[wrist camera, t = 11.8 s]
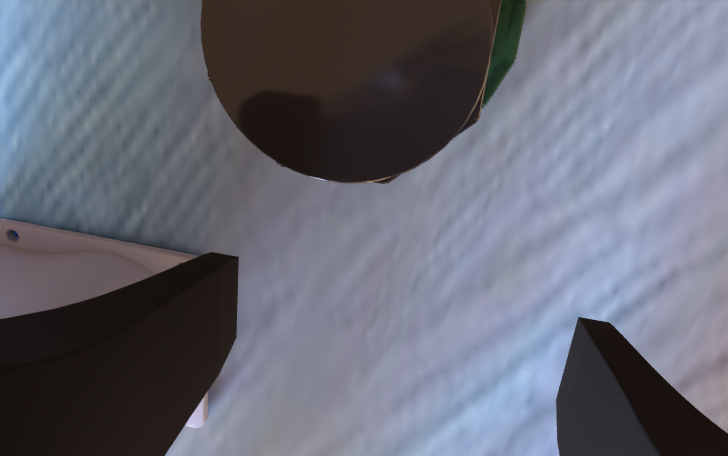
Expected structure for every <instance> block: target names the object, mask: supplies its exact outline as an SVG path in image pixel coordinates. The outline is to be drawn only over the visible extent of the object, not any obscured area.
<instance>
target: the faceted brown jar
mask: <svg viewBox="0 0 728 456" xmlns="http://www.w3.org/2000/svg"><path fill="white" fill-rule="evenodd" d="M501 2H502V0H202V11H201V41H202V47H203V53H204V59H205V63H206V67H207V70H208V77H210V78H209V80H210V81H211V83H212V85H213V87H214V90H215V92H216V94H217V97H218V98H219V100H220V102H221V104H222V106H223V107H224V109H225V111H226V113H227V114H228V115H229V117H230V118H231V120H232V121H233V122H234V124H235V125H236V127H237V128H238V129H239V130H240V131H241V132H242V133H243V134H244V135H245V137H246V138H247V139H248V140H249V141H250V142H251V143H252V144H254V145H255V146H256V147H257V148H258V149H259V150H261V151H262V152H263V153H264V154H266V155H267V156H269V157H270V158H272V159H273V160H275V162H276V163H277V164H278V165H281V166H282V167H287V168H289V169H291V170H293V171H295V172H298V173H300V174H303V175H306V176H308V177H311V178H316V179H320V180H324V181H329V182H338V183H367V182H374V183H380V184H385V183H389V182H391V181H392V180H394V179H395V178H397V177H398V176H399V175H401V174H402V173H405V172H407V171H409V170H412V169H414V168H416V167H417V166H419V165H421V164H422V163H424V162H426V161H428V160H429V159H431V158H432V157H433V156H434V155H436V154H437V153H438V152H439V151H441V150H442V149H443V148H444V147H445V146H446V145H447V144H448V143H449V142H450V141H451V140H452V139H453V138H455V137H456V136H457V135H459V134H460V133H462V132H463V131H465V130H466V129H468V128H469V127H470V126H472V125H473V124H475V123H476V122H477V121H478V119H479V118H480V113H481V108H482V103H483V97H484V92H485V87H486V81H487V76H488V71H489V67H490V62H491V55H492V50H493V44H494V39H495V34H496V28H497V23H498V18H499V12H500V7H501Z"/></svg>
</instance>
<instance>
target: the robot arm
mask: <svg viewBox="0 0 728 456" xmlns="http://www.w3.org/2000/svg"><path fill="white" fill-rule="evenodd" d="M13 230H14V231H15V232H16V233H17V234H18V236H19V238H18V237H16V235H15V234H14V232H13ZM180 263H181V264H180ZM238 263H239V257H237V256H231V255H225V254H220V253H214V252H211V253H207V254H204V255H201V256H198V255H193V254H188V253H182V252H177V251H172V250H167V249H162V248H156V247H151V246H146V245H141V244H135V243H130V242H125V241H120V240H115V239H109V238H104V237H99V236H94V235H88V234H83V233H78V232H73V231H67V230H62V229H57V228H52V227H47V226H41V225H36V224H31V223H26V222H20V221H15V220H10V219H5V218H0V456H165V454H166V453H167V451H168V450H169V448H170V447H171V445H172V444H173V442H174V441H175V439H176V438H177V436H178V435H179V433H180V432H181V430H182V429H183V427H184V426H185V425H186V426H190V427H197V428H198V427H201V426H202V425H203V424H204V423H205V421H206V420H207V417H208V390H209V389H210V387H211V386H212V384H213V382H214V381H215V379H216V378H217V376H218V375H219V373H220V371H221V369H222V367H223V365H224V363H225V361H226V359H227V357H228V354H229V352H230V350H231V348H232V346H233V343H234V341H235V339H236V331H237V297H238ZM556 407H557V441H558V448H559V454H560V456H728V433H726V432H725V431H724V430H722V429H721V428H720V427H718V426H717V425H716V424H714V423H713V422H712V421H711V420H709V419H708V418H707V417H706V416H704V415H703V414H702V413H701V412H700V411H699V410H697V409H696V408H695V407H694V406H693V405H692V404H691V403H690V402H688V401H687V400H686V399H685V398H684V397H683V396H682V395H681V394H680V393H678V392H677V391H676V390H675V389H674V388H673V387H672V386H671V385H670V384H669V383H668V382H667V381H666V380H665V379H664V378H663V377H662V376H661V375H660V374H659V373H658V372H657V371H656V370H655V369H654V368H653V367H652V366H651V365H650V364H649V363H648V362H647V361H646V360H645V359H644V358H643V357H642V356H641V355H640V354H639V352H638V351H637V350H636V349H635V348H634V347H633V346H632V345H631V344H630V343H629V342H628V341H627V340H626V339H625V338H624V337H623V335H622V334H621V333H620V332H619V331H618V330H617V329H616V328H615V327H614V326H613V325H611V324H610V323H609V322H603V321H597V320H592V319H586V318H581V317H578V321H577V324H576V328H575V332H574V335H573V339H572V343H571V347H570V350H569V354H568V358H567V361H566V365H565V369H564V373H563V376H562V380H561V384H560V387H559V391H558V395H557V399H556Z"/></svg>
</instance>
